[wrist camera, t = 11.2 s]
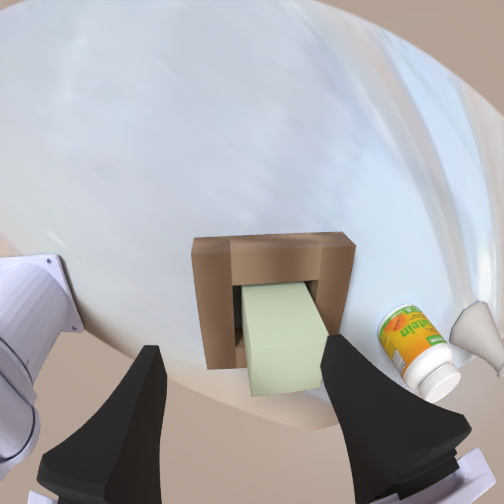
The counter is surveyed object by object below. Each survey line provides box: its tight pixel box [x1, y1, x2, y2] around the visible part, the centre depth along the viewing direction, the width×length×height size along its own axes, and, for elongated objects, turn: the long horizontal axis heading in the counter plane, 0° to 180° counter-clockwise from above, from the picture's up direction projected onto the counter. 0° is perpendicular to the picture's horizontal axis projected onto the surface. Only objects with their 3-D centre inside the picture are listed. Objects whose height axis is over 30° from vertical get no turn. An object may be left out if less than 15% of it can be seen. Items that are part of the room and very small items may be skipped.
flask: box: [450, 301, 504, 378], centre depth 25 cm, size 7×7×10 cm
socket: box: [191, 232, 356, 370], centre depth 22 cm, size 11×11×2 cm
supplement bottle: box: [378, 304, 461, 403], centre depth 22 cm, size 5×5×10 cm
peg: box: [241, 281, 329, 397], centre depth 19 cm, size 4×4×8 cm
